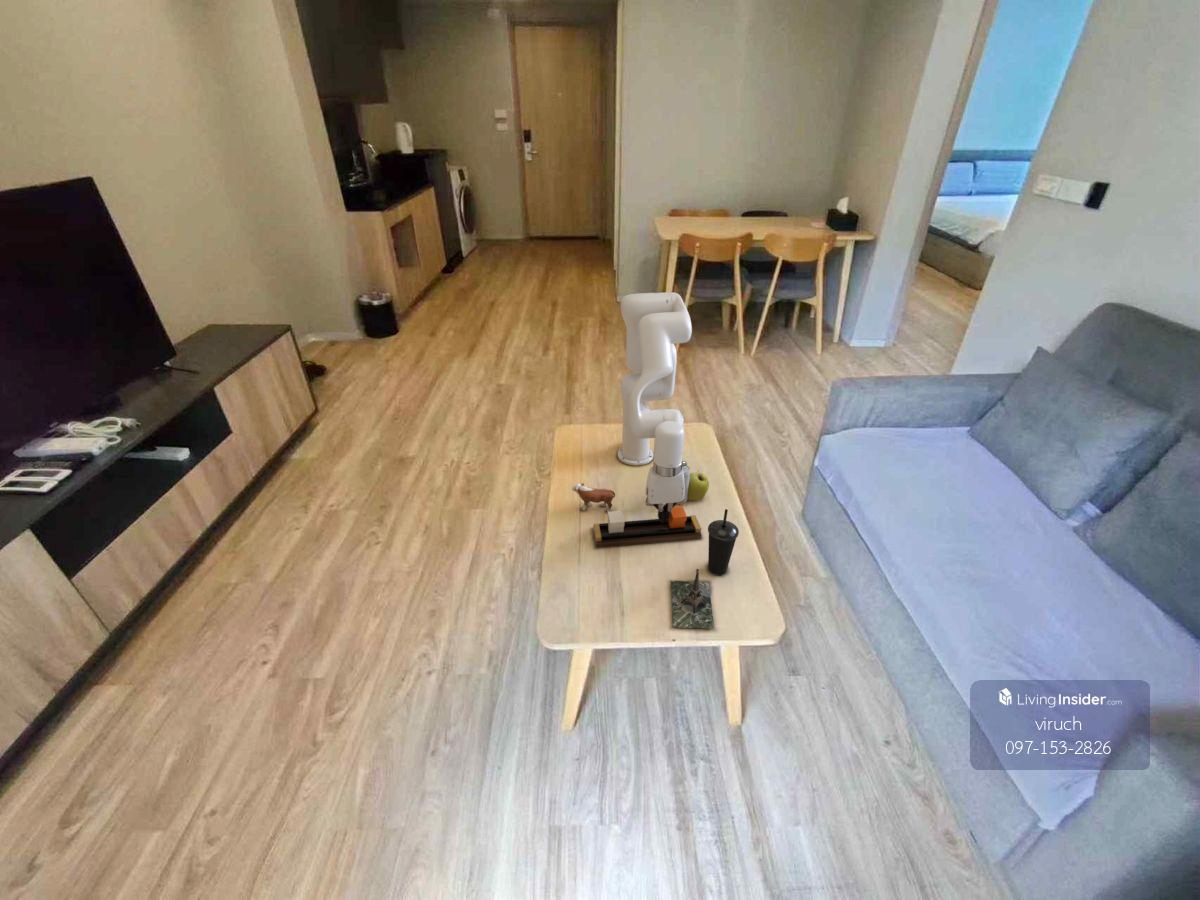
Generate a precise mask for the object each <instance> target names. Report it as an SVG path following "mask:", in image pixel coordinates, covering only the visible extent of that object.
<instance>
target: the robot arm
mask: <svg viewBox="0 0 1200 900" xmlns="http://www.w3.org/2000/svg"><path fill="white" fill-rule="evenodd" d="M620 313H621V316H622V320H623V321H624V322H623V323H624V324H625V329H626V339H625V340H626V343H625V362H626V367H627V368H628V370H630V371H632V372H629V373H627V374H625V375H623V376H622V378H621V380H620V393H621V401H622V436H621V437H622V439H621V440H622V441H621V443H622V444H621V447H620V448H619V449H618V450H617V458H618V460H619V461H620V462H622V463H623V464H626V465H628V466H629V465H630V466H644V465H647V464H649V463H650V462H653V463H652V466H651V467H650V468H649V470H648V473H647V474H648V475H647V479H646V484H645V495H646V499H645V501H644V502H645V505H646V506H647V507H653V508H655V509H656V510H657V519H660V520H661V523H664V522H665V523H667V520H668V518H669V515H670V511H671V510H672V508H673V507H674V506H677V505H681V504H680V503H683V502H684V494H685V483H684V472H683V467H684V466H688V462H687V460H683V454H684V444H685V443H684V442H685V428H684V424H685V422H684V420H685V419H684V414H682V413H681V411H680V410H679V409H676V408H665V409H651V408H650V406H649V405H648V404H647V402H653V401H654V402H657V401H666V400H669V399H671V398H672V397H673V395H674V392H675V385H676V384H675V383H676V373H677V363H678V362H677V360H678V355H677V349H676V345H675V344H685V343H687V342H689V341H690V340H691V338H692V333H693V326H692V325H693V324H692V320H691V316H690V313H689V310H688V309H687V307H686V304H685V302H684V300H683V298H682V296H681V295H680V294H679V293H678V292H671V291H670V292H669V291H668V292H641V293H640V292H639V293H630V294H626V295H624V296H623V297H622V298H621V301H620ZM651 439H654V443H653V445H654V446H653V450H652V449H651V448H650V443H651V441H650V440H651ZM652 460H653V461H652Z"/></svg>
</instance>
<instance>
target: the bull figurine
mask: <svg viewBox="0 0 1200 900" xmlns="http://www.w3.org/2000/svg"><path fill="white" fill-rule="evenodd" d="M571 490H572V491H573V492H575V493H576V494H577V495H578V497H579V499H581V500H582V501H583V507H582V508H581V511H585V510H587V507H589V506H591V505H592V503H595V504H600V503H601V502H603V503H602V504H601V505H600V506H601V507H602V508H603V507H606V506H607V507H608V508H607V509H606V513H608V512H610V511H612V507H613V503H612V502H613V499H614V498H615V497H616V492H615V491H614V490H612V489H606V488H594V487H589V486H588V487H587V486H585V483H584V482H581V484H580V483H579V482H578V483H576V484H574V485H573V487H572V488H571Z"/></svg>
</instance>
